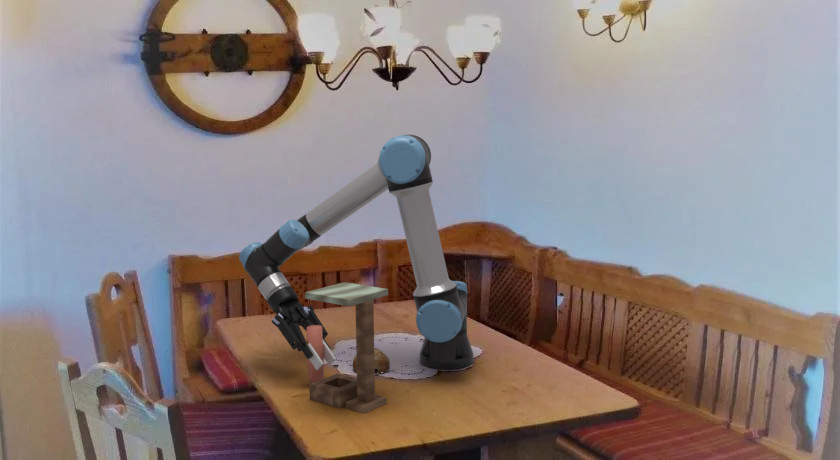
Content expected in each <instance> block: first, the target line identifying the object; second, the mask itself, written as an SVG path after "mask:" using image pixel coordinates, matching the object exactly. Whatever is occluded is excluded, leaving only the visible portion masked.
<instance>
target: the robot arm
mask: <svg viewBox="0 0 840 460" xmlns="http://www.w3.org/2000/svg"><path fill="white" fill-rule="evenodd" d="M430 148H431V147H430V146H429V144H428V143H427V142H426V141H425V140H424V139H423V138H422V137H420V136H418V135H414V134H401V135H397V136H395V137H391V138H390V139H389V140H387V141H386V143H384V145H383V146H382V148H381V149H380V152H379V156H378V158H377V161H376V163H375V164H374V165H373V166H372V167H370V168H368V169H367V170H366V171H364V172H363V173H361V174H360V175H358V176H357V177H356V178H355V179H353V180H351V182H349V183H348V184H346V185H345V186H343V187H342V188H340V189H339V190H338V191H336V192H335V193H333V194H332V195H330V196H329V197H327V198H326V199H324V201H322V202H321V203H319V204H318V205H317V206H314V208H312V209H311V210H309V211H308V212H307V213H306V214H304V215H302V216H301V217H299V218H298V219H292V218H290V219H289V220H288V221H287V222H285V223H283V224H282V225H281V226H280V227H279V228H278V229H277V230H276V231H275V232H274V233H273V234H272V235H270V237H269V238H268V239H267V240H266V241H265V242H263V243H261V242H259V241H255V242H252V243H250V244H249V245H247V246H245V247H244V248H243V249H242V250H241V251H240V253H239V255H238V258H239V261H240V263H241V265H242V266H243V267H244V271H245V272H246V273H247V275H248V276H249V277H250V279H251V280H252V281H253V283H254V285H255V286H256V288H257V289H258V291H259V292H260V293H261V295H262V296H263V298H264V300H265V301H267V304H268V305H269V307H270V308H271V310H272V312H273V313H274V314H276V315H275V316H274V317H273V318H272V320H271V324H273V325H274V326H275V327H277V329H278V330H279V332H280V333H281V334H282V336H283V337H284V338H285V340H286V341H287V343H288V344H289V346H290V347H291V349H292V350H296V349H297V350H296V351H297V352H302V353H303V355H304V356H305V358H306V359H307V360H308V359H309V360H310V361H311V363H312V364H313V366H314V367H315V369H316V370H319V369H320V367H321V366H322V365H323V364H325V363H323V362H322V360H321V359H320V357H319V356H318V354H317V353H316V351H315V350H314V348H313V347H312V345H311V344H310V343H309V344H307V339H306V338H305V335H304V334H303V332H302V329H301V328H303V330H305V333H307V327H308V326H311V325H320V326H322V334H323V360H325V361H326V363H327V364H328V366H331V365H333V364H334V362H335V361H336V360H337V358H336V356H335V354H334V353H333V352H332V350H331V346H329V344H328V342H327V341H326V339H325V338H327V336H328V335H329V333H328V331H327V329H326V327H324V325H323V323H322V321H321V320H320V319H319V317H318V316H317V314H316V312H315V310H314V307H313V305H312V304H311V305H309V306H304V305H303V304H302V303H301V302H300V301H299V296H298V294H297V293H296V291H295V290H294V288H293V287H292V286H291V284H290V282H289V281H288V280H287V278H286V276H285V275H284V274H283V272H282V271H281V269H280V267H281V266H282V265H284V263H285V262H287V261H288V260H289V259H290V258H291V257H292V256H293V255H294V254H296V253H297V252H299V251H301V250H302V249H304V248H306V247H308V246H310V245H311V244H313V243H314V241H316V240H318V239H319V238H320V237H321V236H323V235H324V234H326V233H328V232H329V231H330V230H331V229H333V228H334V227H336V226H337V225H339V224H340V223H342V222H343V221H344V220H346V219H348V218H349V217H350V216H352V215H353V214H354V213H356V212H357V211H359V210H360V209H362V208H363V207H364V206H365V207H366V205H367V204H369V203H370V202H371V201H373V200H375V199H376V198H377V197H379V196H380V195H382V194H383V193H385V192H386V191H387V190H388V193H389V194H391V196H393V197H395V198H396V201H397V206H398V210H399V215H400V219H401V223H402V227H403V232H404V237H405V239H406V240H405V241H406V244H407V248H408V254H409V258H410V262H411V267H412V270H413V274H414V275H413V276H414V279H415V283H416V288H415V289H414V291H413V292H412V296H413V301H414V303H415V309H416V315H415V323H416V327H417V330H418V331H419V333H420V334H421V336H422V337H424V339H423V342H422V345H421V349H420V351H419V363H420V364H421V365H423V366H425V367H428V368H431V369H441V370H453V369H461V368H465V367H468V366H471V365H472V364H473V363H474V352H473V348H472V345H471V343H470V340H469V337H468V294H469V292H468V287H467V283H466V282H464V281H461V280H451V279H450V278H449V274H448V269H447V265H446V260H445V255H444V251H443V247H442V242H441V237H440V233H439V230H438V224H437V221H436V216H435V213H434V208H433V203H432V199H431V195H430V188H431V187H432V185H433V184H434V181H433V178H432V177H433V176H432V171H431V167H430V164H431V160H432V152H431V149H430Z"/></svg>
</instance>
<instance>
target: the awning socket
mask: <svg viewBox="0 0 840 460" xmlns="http://www.w3.org/2000/svg"><path fill="white" fill-rule="evenodd" d="M388 295H389V289H388V288H385V287H384V288H383V287H377V286H371V285H363V284H358V283H352V282H347V281H346V282H345V281H344V282H340V283H336V284H332V285H329V286H324V287H322V288H320V287H319V288H316V289H313V290H309V291H305V292H304V299H306V300H312V301H318V302H323V303H329V304H334V305H338V306H339V305H340V306H345V307H353V306H354V307H355V340H356V341H355V343H356V349H355V350H356V355H357V372H356V377H353V376H349V375H345V374H342V373H338V372H337V373H335V374H332V375H329V376H327V377H324V379H321V380H319V381H316V382H311V383H309V385H308V386H309V389H308V390H309V400H310V401H312V402H316V403H320V404H324V405H327V406H329V407H333V408H338V409H342V408H344V407H345V408H346V409H349V410H352V411H355V412H359V413H362V414H366V413H369V412H371V411H373V410H375V409H377V408H380V407H383V406H384V405H386V404H388V401H387V397H386V396H383V395H379V394H376V383H375V382H376V374H375V362H374V348H375V320H374V319H375V314H374V312H375V311H374V300H375V299H380V298H382V297H383V298H384V297H386V296H388Z"/></svg>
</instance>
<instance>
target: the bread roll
mask: <svg viewBox="0 0 840 460" xmlns="http://www.w3.org/2000/svg"><path fill="white" fill-rule="evenodd" d="M352 360H353V361H352V370H353V371H354V372H356V373H357V354H356V355H355V356H354V358H353V359H352ZM374 362H375V375H378V374H377V373H380V374H382V373H381V372H385V373H387V372H388V371H389V369H390V360H389V357H388V355H387V354H386V353H384V352H383V351H382V350H381V349H379V348H376V347H374ZM387 370H388V371H387ZM386 371H387V372H386Z"/></svg>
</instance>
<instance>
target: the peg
mask: <svg viewBox="0 0 840 460" xmlns="http://www.w3.org/2000/svg"><path fill="white" fill-rule="evenodd" d="M306 342H307V344H309V343H310V344H311V345H312V347H313V348H314V350H315V351H316V353H317V354H318V356H319V357H320V359H321V360H322V362H323V363H324V362H325V361H324V357H323V334H322V326H320V325H311V326H308V327H307V332H306ZM307 344H306V345H307ZM324 364H325V363H324ZM324 364H323V365H322V366H321V367H320V369H319V370H316V369H315V367H314V366H313V364H312V363H311V361H310V360H309V359H307V367H308V368H307V370H308V371H307V372H308V382H311V383H313V382H316V381H319V380H321V379H324V378H325V366H324Z"/></svg>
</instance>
